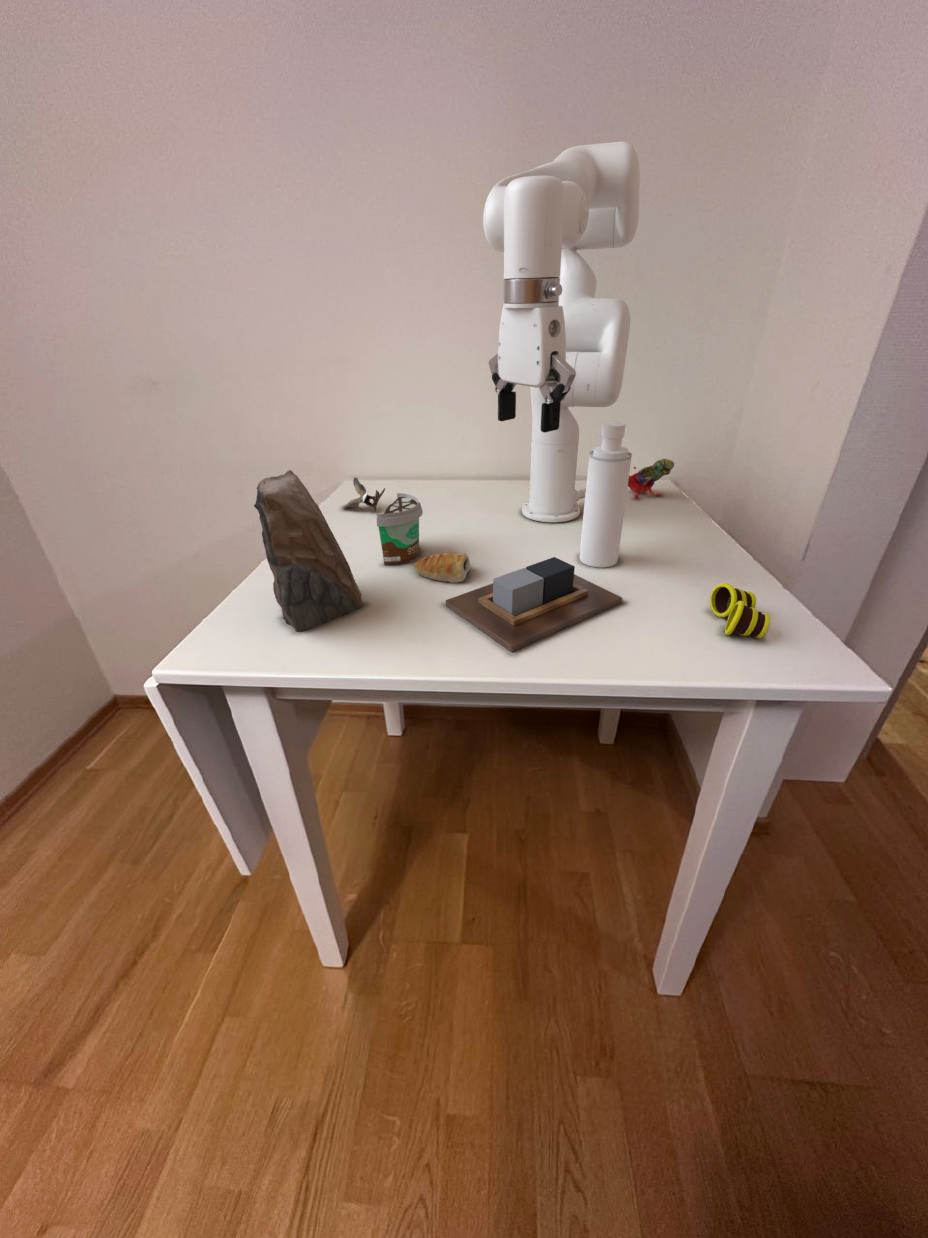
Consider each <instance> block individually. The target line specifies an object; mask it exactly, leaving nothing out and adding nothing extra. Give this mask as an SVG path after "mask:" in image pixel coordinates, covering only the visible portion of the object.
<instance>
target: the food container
mask: <svg viewBox="0 0 928 1238" xmlns="http://www.w3.org/2000/svg"><path fill="white" fill-rule="evenodd" d="M423 512H424V511H423V508H422V504H421V502H420V501H419V498H418V497H416V496H415V495H412V494H408V493H402V492H396V499H395V500H394V501H393V502H392V503H390V504H389V505H388V506H387V507H386V509H385V510H384V512H383V513H376V527H378V532H379V539H380V544H381V551H382V558H383V564H384V566H399V565H403V564H408V563H410V562H412V561H414V560H416V559H417V558H418V557H419V555H420V518H421V517H422V516H423V514H424V513H423Z"/></svg>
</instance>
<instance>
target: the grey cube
mask: <svg viewBox="0 0 928 1238" xmlns="http://www.w3.org/2000/svg"><path fill="white" fill-rule="evenodd" d="M492 583H493V603H494V604H496V605H498V606H499V607H501V608H502V609H504V610H506V611H507V612H509V613H510V614H512V615H514V616H516V615H518V614H521V613H523V612H526V611H528V610H531V609H533V608H536V607H538V606H541V605H542V602H543V586H544V578H542V577H540V576H538V575H537V574H535V573H533V572H531V571H529V570H527V569H526V567H523V568H519V569H516V570H514V571H511V572H508V573H505V574H503V575H500V576H498V577H495V578H493V579H492Z"/></svg>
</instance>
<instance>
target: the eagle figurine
mask: <svg viewBox="0 0 928 1238" xmlns="http://www.w3.org/2000/svg"><path fill="white" fill-rule="evenodd" d="M352 482H353V483H352V484H353V486H354V489H355V492H356V493H357V494H358V495H359V497H357V498H352V499H351V500H349V501H348V502H347V504H345V505H344V506H343V507H342V509H343V510H344V509H347V508H351V507H352V508H355V507H358V506H359V505H360V504H361V505H363V504H365V505H367V506H368V507H372V508H373V512H375V513H376V512H377V506H378V503H379V501H380V499H381V497H382V496H383V495H384V493H385V491H386V487H383V489H382V490H381V492H379V491H378V489H376V490H375V494H374V495H373V496H372V495H369V491H368V490H367V489H366V487H365V485H363V484H362V483H361V482H360V481H359V478H358V477H357V476H355V477H353V480H352ZM371 500H372V501H373V502H371Z"/></svg>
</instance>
